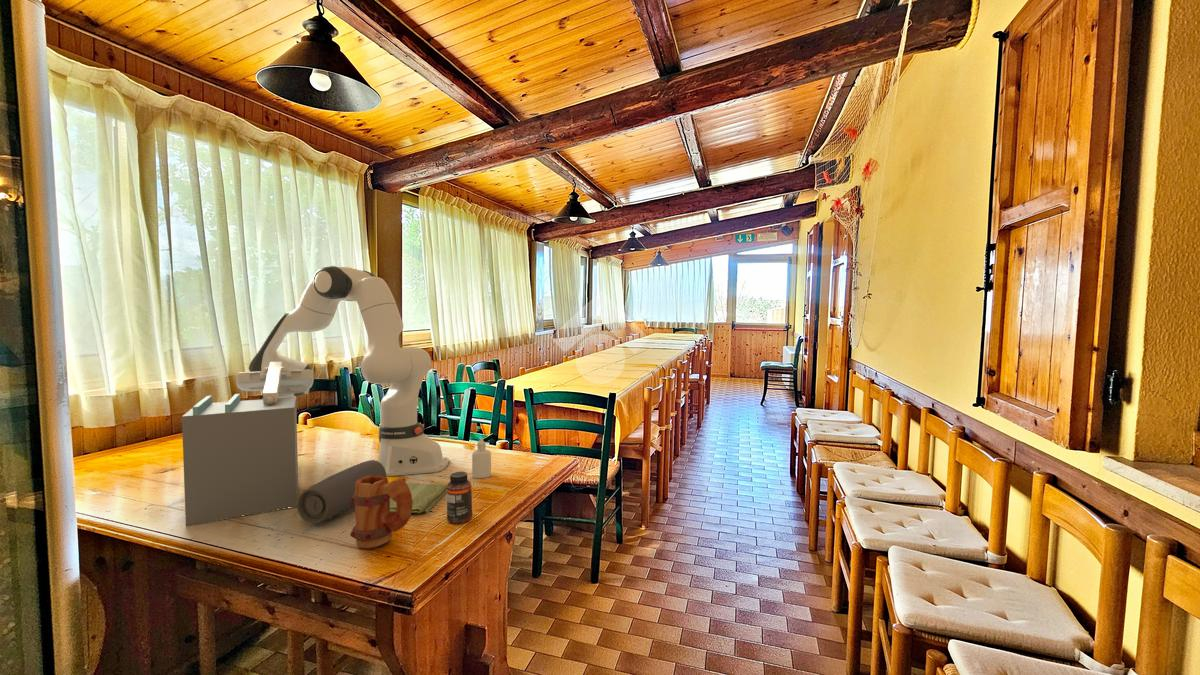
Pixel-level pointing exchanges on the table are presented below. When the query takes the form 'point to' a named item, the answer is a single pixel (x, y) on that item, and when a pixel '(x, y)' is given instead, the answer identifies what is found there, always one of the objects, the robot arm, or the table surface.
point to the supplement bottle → (459, 498)
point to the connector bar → (272, 383)
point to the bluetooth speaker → (335, 492)
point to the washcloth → (422, 496)
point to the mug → (379, 509)
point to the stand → (239, 458)
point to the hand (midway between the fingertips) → (274, 369)
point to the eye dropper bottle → (481, 461)
